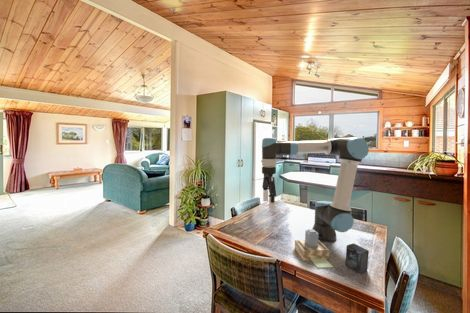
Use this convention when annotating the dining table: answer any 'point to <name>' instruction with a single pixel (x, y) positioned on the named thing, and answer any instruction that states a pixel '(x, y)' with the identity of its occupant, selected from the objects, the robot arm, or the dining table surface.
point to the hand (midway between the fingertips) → (268, 204)
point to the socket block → (311, 250)
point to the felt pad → (321, 263)
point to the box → (357, 258)
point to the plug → (311, 238)
